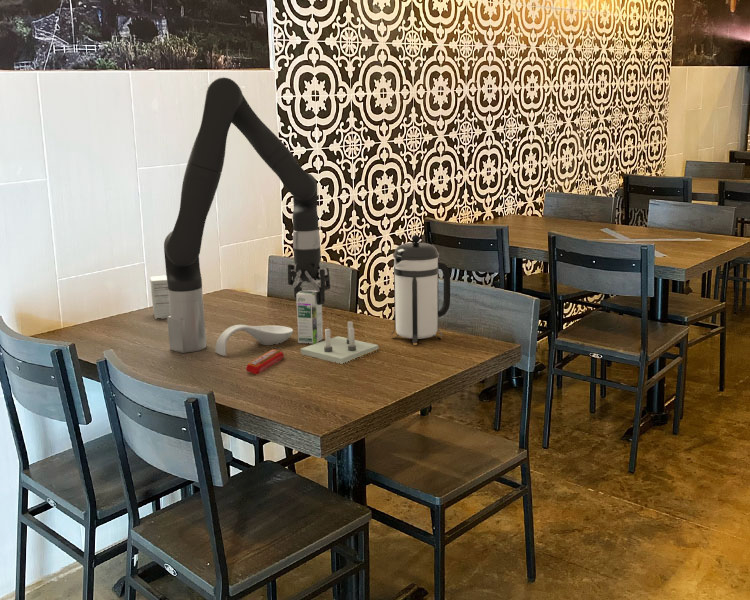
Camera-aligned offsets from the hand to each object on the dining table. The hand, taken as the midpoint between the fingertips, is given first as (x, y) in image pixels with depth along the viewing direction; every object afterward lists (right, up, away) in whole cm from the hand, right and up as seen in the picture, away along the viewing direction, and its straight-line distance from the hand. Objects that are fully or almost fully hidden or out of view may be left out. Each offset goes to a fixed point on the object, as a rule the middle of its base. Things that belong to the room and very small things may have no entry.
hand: (309, 302), depth 233 cm
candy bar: (-10, -17, -19) cm, 27 cm away
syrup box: (0, -11, +3) cm, 12 cm away
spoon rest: (-15, -13, -1) cm, 20 cm away
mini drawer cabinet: (-50, -5, +34) cm, 61 cm away
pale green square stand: (+9, -14, -9) cm, 18 cm away
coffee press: (+31, -10, +4) cm, 33 cm away
